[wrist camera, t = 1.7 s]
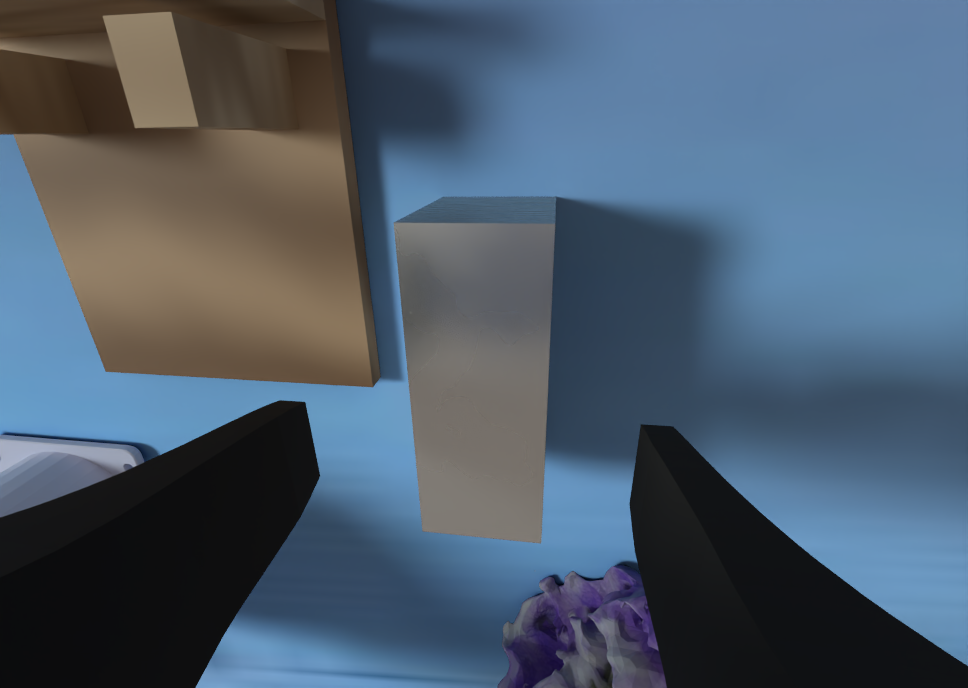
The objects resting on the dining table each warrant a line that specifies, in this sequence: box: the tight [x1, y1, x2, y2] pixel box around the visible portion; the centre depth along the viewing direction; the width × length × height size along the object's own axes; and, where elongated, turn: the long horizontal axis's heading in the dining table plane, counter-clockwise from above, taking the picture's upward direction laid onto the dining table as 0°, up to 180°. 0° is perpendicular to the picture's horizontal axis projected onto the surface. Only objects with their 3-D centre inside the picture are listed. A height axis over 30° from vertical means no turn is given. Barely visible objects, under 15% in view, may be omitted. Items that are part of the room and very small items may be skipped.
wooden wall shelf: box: [0, 0, 381, 387], centre depth 13 cm, size 13×11×6 cm
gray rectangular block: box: [394, 197, 556, 543], centre depth 14 cm, size 9×4×5 cm, turn 1°
